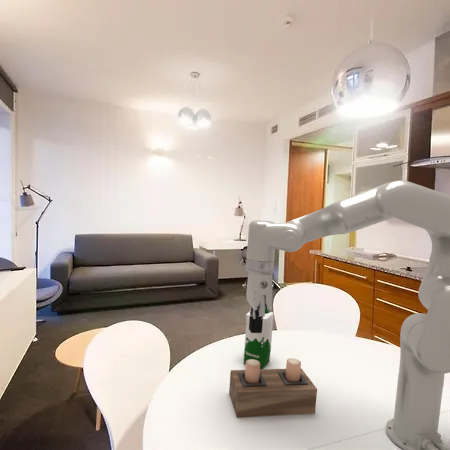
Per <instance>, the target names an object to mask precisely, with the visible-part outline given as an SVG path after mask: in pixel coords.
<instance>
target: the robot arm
mask: <svg viewBox="0 0 450 450" xmlns="http://www.w3.org/2000/svg"><path fill="white" fill-rule="evenodd" d="M390 219H398V220H400V221H403V222H405V223H408V224H410V225H412V226H415V227H419V228H420V229H424V230H425V231H426V233H427V234H428V235H429V238H430V241H431V253H430V256H429V260H428V263H427V266H426V269H425V272H424V274H423V277H422V280H421V283H420V285H419V288H418V291H417V292H418V294H417V296H418V300H419V301H420V303H421V305H422V306H423V307H424V308H425V309H426V310H427V313H423V312H422V313H421V312H420V313H413V314H411V315H409V316H407V317H406V318H405V319H404V321H402V324H401V328H400V332H399V333H400V336H399V337H400V338H399V339H400V341H399V342H400V343H399V344H400V345H399V347H400V356H399V358H400V359H399V368H398V377H397V385H396V394H395V395H396V396H395V403H394V411H393V412H394V414H393V418H391V419H389V420H388V421H387V422H386V424H385V431H386V434H387V437H388V438H389V439H390V440H391V441H392V442H393V443H394V444H395V445H396V446H398V447H399V448H401V449H402V450H448V449H447V448H446V447H445V446H444V445H445V444H444V442H443V440H442V437H441V436H442V434H440V433H439V432H438V431H439V425H440V424H439V423H440V414H441V406H442V398H443V392H444V391H443V390H444V389H443V388H444V383H445V374H450V195H449V194H446V193H444V192H442V191H437V190H435V189H431V188H428V187H426V186H423V185H420V184H417V183H414V182H411V181H407V180H400V179H399V180H398V179H397V180H393V181H389V182H386V183H383V184H381V185H378V186H376V187H373V188H370V189H367V190H364V191H363V192H360V193H356V194H354V195H351V196H349V197H345V198H344V199H341V200H337V201H336V202H333V203H331V204H329V205H327V206H326V207H323V208H321V209H318V210H316V211H313V212H311V213H308V214H305V215H302V216H300V217H297V218H294V219H292V220H288V221H287V222H284V223H275V222H274V221H270V220H261V219H260V220H259V219H258V220H257V219H256V220H252V221H250V223H249V224H248V234H247V235H248V236H247V249H246V262H245V263H246V264H245V265H246V266H245V271H246V272H248V274H247V283H246V301H247V303H248V304H249V305H250V306H249V311H250V319H249V330H250V332H251V333H262V325H263V317H264V316H265V307H266V308H267V309H268V311H270V312H271V310H272V309H273V307H272V306H273V274H274V272H275V271H274V268H275V257H276V254H275V253H276V250H279V251H283V252H288V253H293V252H297V251H298V250H301V248H302V247H303V245H305V244H307V243H310V242H312V241H316V240H319V239H321V238H326V237H330V236H336V235H346V234H350V233H353V232H354V233H355V232H356V231H359V230H362V229H364V228H367V227H370V226H372V225H376V224H379V223H382V222H384V221H388V220H390Z"/></svg>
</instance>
